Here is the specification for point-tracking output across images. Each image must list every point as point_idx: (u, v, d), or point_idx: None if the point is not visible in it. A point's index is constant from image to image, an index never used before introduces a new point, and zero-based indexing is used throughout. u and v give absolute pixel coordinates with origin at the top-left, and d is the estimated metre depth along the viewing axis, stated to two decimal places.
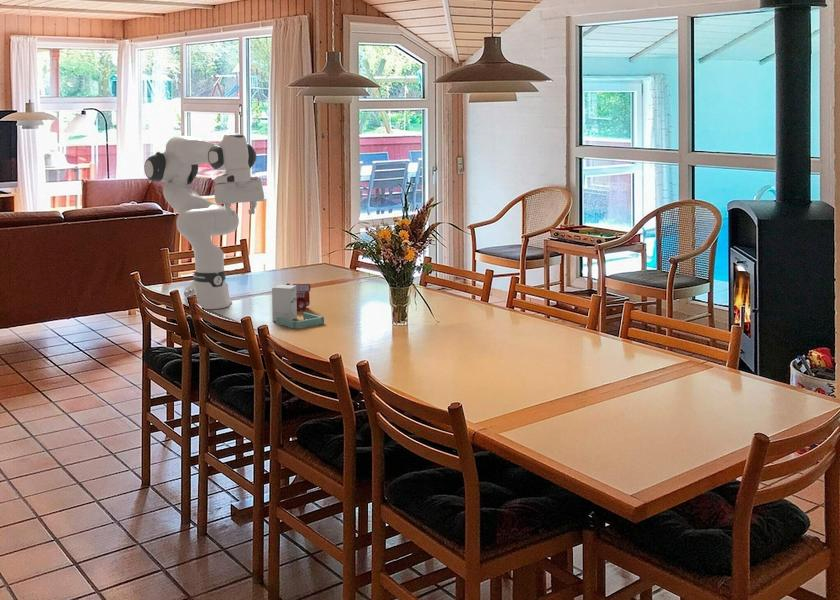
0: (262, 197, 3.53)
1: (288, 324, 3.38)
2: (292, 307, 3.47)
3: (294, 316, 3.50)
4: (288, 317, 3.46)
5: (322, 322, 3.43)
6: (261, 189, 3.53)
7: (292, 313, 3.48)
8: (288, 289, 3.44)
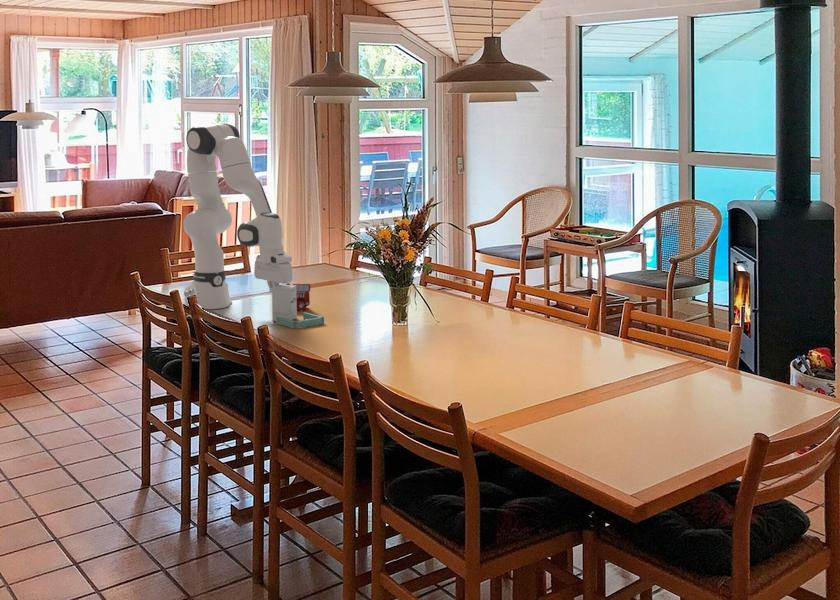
0: None
1: (288, 324, 3.38)
2: (292, 307, 3.47)
3: (294, 316, 3.50)
4: (288, 317, 3.46)
5: (322, 322, 3.43)
6: None
7: (292, 313, 3.48)
8: (288, 289, 3.44)
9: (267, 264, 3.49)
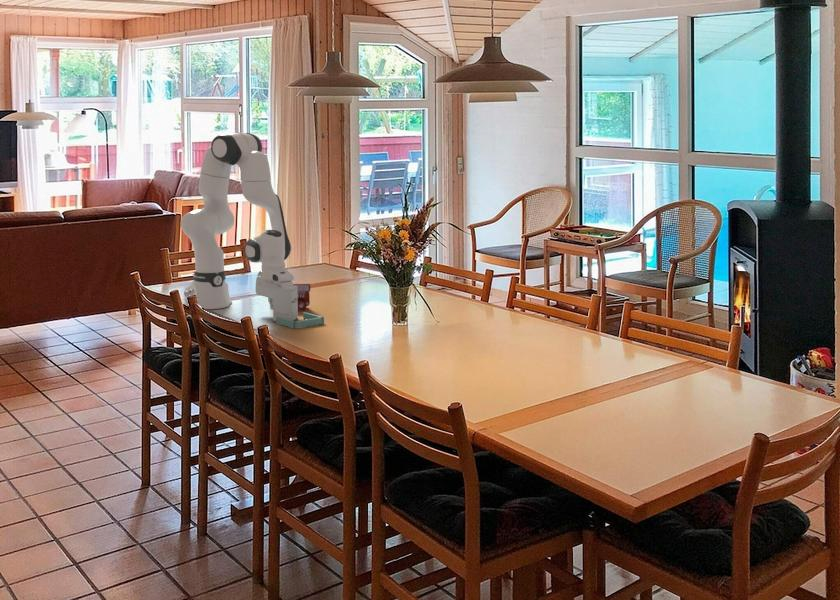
0: None
1: (288, 324, 3.38)
2: (292, 307, 3.46)
3: (295, 316, 3.50)
4: (289, 317, 3.46)
5: (322, 322, 3.43)
6: None
7: (293, 314, 3.48)
8: (289, 289, 3.44)
9: (269, 282, 3.50)
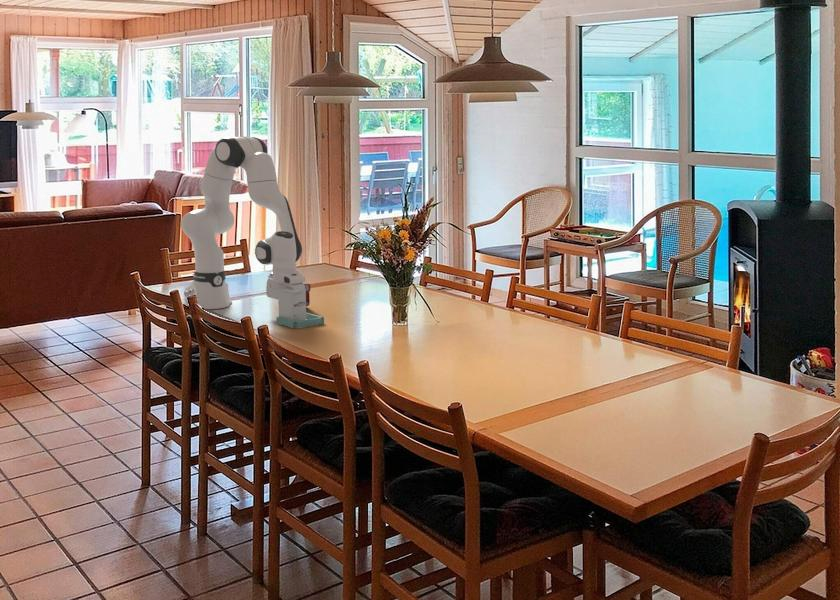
0: None
1: (288, 324, 3.38)
2: (295, 311, 3.40)
3: None
4: None
5: (322, 322, 3.43)
6: None
7: (297, 317, 3.41)
8: (290, 292, 3.38)
9: (280, 284, 3.45)
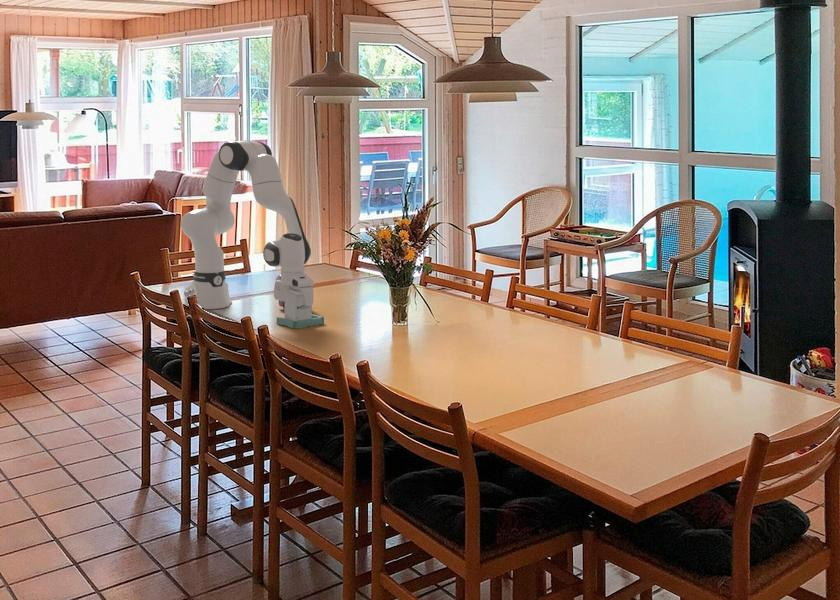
0: None
1: (288, 324, 3.38)
2: (299, 313, 3.37)
3: None
4: None
5: (322, 322, 3.43)
6: None
7: (300, 320, 3.38)
8: (294, 294, 3.35)
9: (288, 286, 3.41)
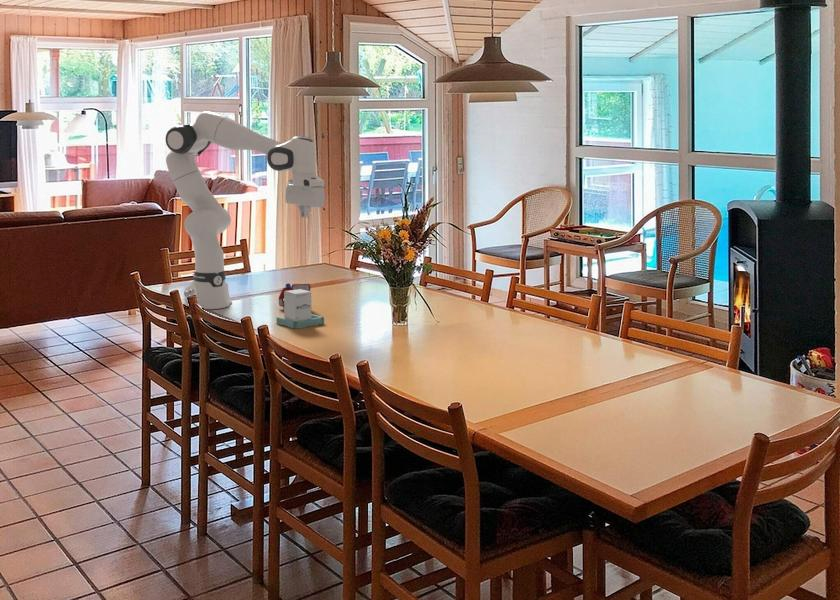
0: None
1: (288, 324, 3.38)
2: (298, 313, 3.37)
3: None
4: None
5: (322, 322, 3.43)
6: None
7: (300, 320, 3.38)
8: (294, 294, 3.35)
9: (299, 188, 3.49)
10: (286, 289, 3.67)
